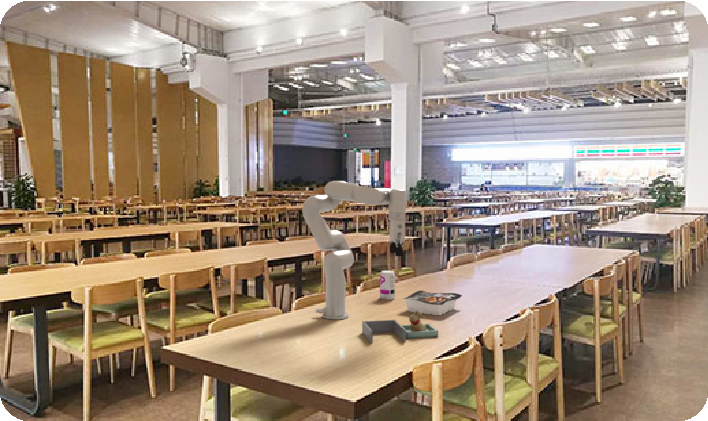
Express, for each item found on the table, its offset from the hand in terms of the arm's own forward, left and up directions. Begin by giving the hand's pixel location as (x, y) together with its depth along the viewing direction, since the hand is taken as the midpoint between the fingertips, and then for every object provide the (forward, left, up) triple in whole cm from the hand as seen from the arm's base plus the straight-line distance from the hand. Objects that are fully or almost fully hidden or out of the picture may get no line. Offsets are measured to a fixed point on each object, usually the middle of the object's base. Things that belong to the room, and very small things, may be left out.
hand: (395, 254), depth 252 cm
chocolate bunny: (+6, -15, -32) cm, 36 cm away
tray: (+6, -15, -32) cm, 36 cm away
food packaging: (+26, +25, -33) cm, 49 cm away
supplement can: (+11, +56, -33) cm, 65 cm away
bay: (-10, -17, -32) cm, 38 cm away
